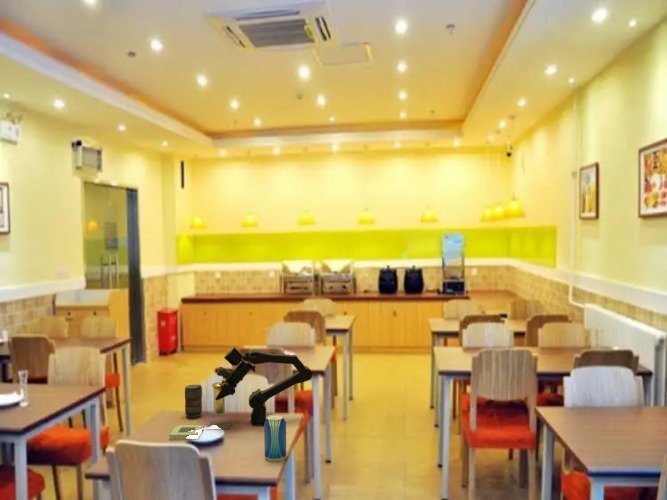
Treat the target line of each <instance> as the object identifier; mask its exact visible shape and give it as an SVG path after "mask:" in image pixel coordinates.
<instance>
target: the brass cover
mask: <svg viewBox="0 0 667 500" xmlns="http://www.w3.org/2000/svg"><path fill="white" fill-rule="evenodd" d="M223 383H224V382H222V381H220V382H219V381H218V382H213V383H212V384H211V386H212V388H213V413H214V414H217V415H221V414H224V413H225V412H226V397H224V398H221V399H219V400H216V399H215V398H216V397H217V395H218V394H219V392H220V391H221V389H222V385H223Z"/></svg>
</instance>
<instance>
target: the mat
mask: <svg viewBox="0 0 667 500" xmlns="http://www.w3.org/2000/svg"><path fill="white" fill-rule="evenodd" d="M232 424H233V421H232V420H227V421H226V420H225V421H224V420H223V421H222V420H221V421H220V420H219V421H217V420H216V421H215V420H213V421H212V420H211V421H210V422H209V423H208V425H207V427H209V426H211V425H217V426H218V427H219V428H221V429H223V430H226V431H227V430H230V428H231V426H232ZM207 427H206V428H207Z"/></svg>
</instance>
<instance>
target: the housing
mask: <svg viewBox="0 0 667 500" xmlns="http://www.w3.org/2000/svg"><path fill="white" fill-rule="evenodd" d="M202 428H204V429H205V425H204V424H196V425H195V424H194V425H193V424H189V425H188V424H187V425H185V424H184V425H181V424H180V425H176V426H175V427H174V429H173V430H172V431H171V432H170V433H169V437H168V438H169V441H179V440H180V441H185V440H186V437H187V436H189V435H198V432H196V433H195V431H196V430H199V429H202ZM191 430H194V431H193V432H188V431H191Z"/></svg>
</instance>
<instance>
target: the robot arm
mask: <svg viewBox="0 0 667 500" xmlns="http://www.w3.org/2000/svg"><path fill="white" fill-rule="evenodd" d="M223 359H224V360H225V361H227V363H229V364H230V365H231V366H232V367H234V366H235V368H232V369H231V370H229V369H227V368H225V367H222V366H219V368H218V370H217V372H216V376H217V377H222V380H221V382H224V383H223V385H222V389H221V391H220V392H219V394H218V395H217V397H216V398H215V399H216V400H219V399H221V398H224V397H225V398H226V397H229V396H234V395H235V393H236V388H237V387H238V384H239V383H240V382H242V381H244V378H245V377H246V376H247V375H248V374H249V373H250V372H251V371H253V373H255V372H256V365H259V364H260V365H263V364H265V363H267V364H268V363H271V364H287V365H293V367H294V368H295V369H296V370H295V371H294V373H293V374H292V375H290V376H287V378H284V379H283V380H280V381H279V382H278V383H276V384H274V385H272V386H270V387H268V388H266V389H264V390H261V389H260V388H258V389H256V390H254V391H252V392H251V394H249V397H248V405H249V408H251V409H252V411H251V413H250V423H251V426H264V423H265V421H266V419H267V405H266V402H267V401H268V400H269V399H271V398H273V397H275V396H277V395H279V394H280V393H282V392H284V391H285V390H287V389H289V388H291V387H293V386H294V385H298V384H303V383H306V382H308V381H310V380H311V379H312V377H313V371H312V370H311V369H310V367H308V366H307V365H305V364H304V363H303V362H302V360H300V358H299V357H298V356H297V354H285V353H283V354H281V353H269V352H266V351H262V350H259V349H251V350H250V351H249V352H244V353H242V352H240V351H239V350H238V349H237V347H235V346H234V347H233V348H232V349H231V350H229V351H228V352H227V353H226V354H225V355H224V357H223Z"/></svg>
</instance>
